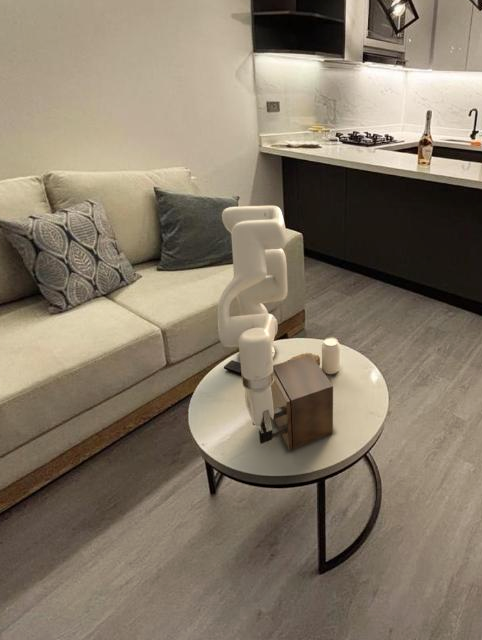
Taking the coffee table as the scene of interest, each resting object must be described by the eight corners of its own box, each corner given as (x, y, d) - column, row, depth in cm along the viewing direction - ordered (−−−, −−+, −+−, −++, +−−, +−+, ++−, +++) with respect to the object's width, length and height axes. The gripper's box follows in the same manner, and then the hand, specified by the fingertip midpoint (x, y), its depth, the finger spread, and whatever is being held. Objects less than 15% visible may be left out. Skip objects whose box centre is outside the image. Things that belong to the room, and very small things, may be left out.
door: (264, 460, 108) (260, 411, 101) (248, 419, 121) (244, 374, 114) (292, 448, 112) (290, 401, 105) (274, 410, 124) (271, 366, 118)
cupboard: (293, 449, 112) (291, 400, 105) (275, 411, 124) (272, 365, 118) (332, 433, 117) (333, 386, 111) (311, 398, 130) (310, 354, 124)
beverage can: (336, 363, 147) (336, 334, 143) (341, 373, 142) (342, 344, 137) (319, 366, 145) (319, 338, 140) (324, 377, 140) (324, 348, 135)
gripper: (234, 361, 105) (239, 415, 112) (252, 403, 91) (257, 462, 98) (262, 353, 108) (266, 405, 115) (284, 393, 95) (287, 450, 102)
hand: (262, 431), depth 107 cm, fingers open, 6 cm apart
